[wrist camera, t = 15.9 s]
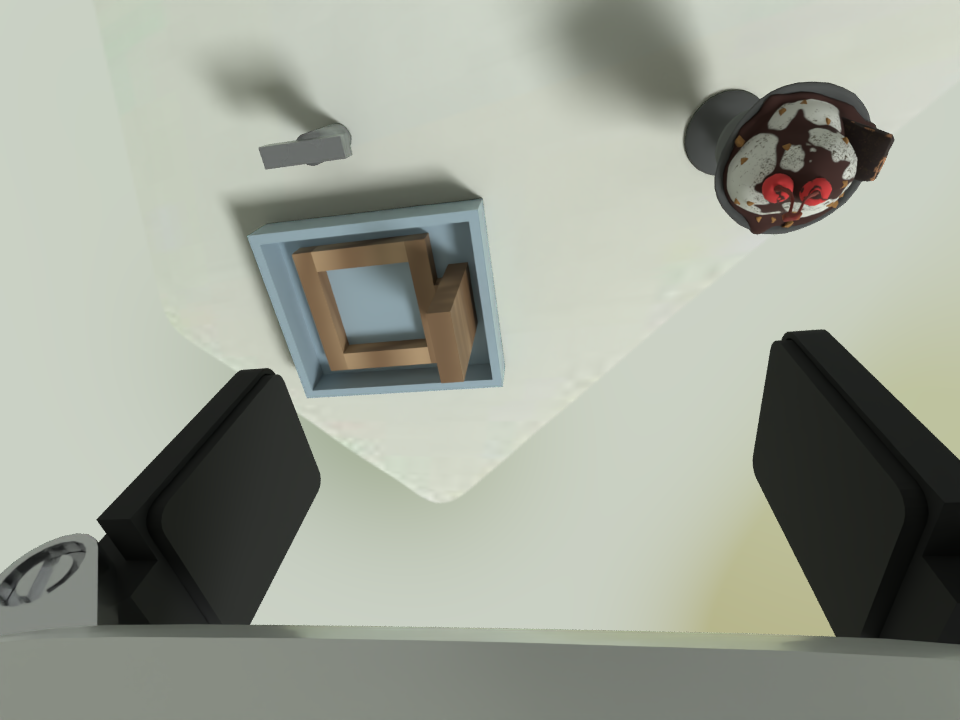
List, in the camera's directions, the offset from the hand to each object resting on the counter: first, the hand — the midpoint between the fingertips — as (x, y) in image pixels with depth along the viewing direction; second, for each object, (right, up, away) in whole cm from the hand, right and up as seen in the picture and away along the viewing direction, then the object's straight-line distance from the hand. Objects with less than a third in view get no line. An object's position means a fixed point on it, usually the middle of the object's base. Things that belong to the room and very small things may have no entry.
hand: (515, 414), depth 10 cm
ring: (-7, +6, +30) cm, 31 cm away
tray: (-8, +6, +31) cm, 32 cm away
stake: (-10, +16, +25) cm, 31 cm away
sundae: (+15, +15, +22) cm, 31 cm away
